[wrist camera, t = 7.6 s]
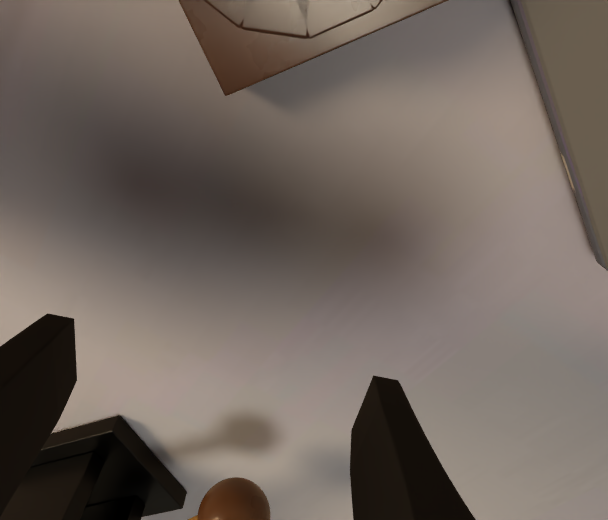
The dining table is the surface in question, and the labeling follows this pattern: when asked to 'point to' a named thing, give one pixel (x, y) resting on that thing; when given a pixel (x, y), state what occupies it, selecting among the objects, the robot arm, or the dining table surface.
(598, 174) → the smartphone
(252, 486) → the lever
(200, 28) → the button base
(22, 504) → the bracket
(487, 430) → the dining table surface
